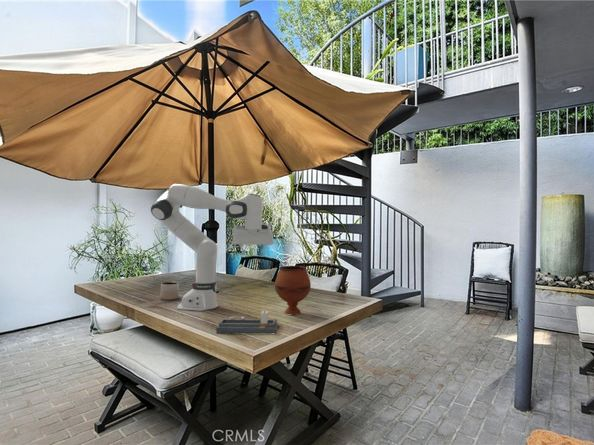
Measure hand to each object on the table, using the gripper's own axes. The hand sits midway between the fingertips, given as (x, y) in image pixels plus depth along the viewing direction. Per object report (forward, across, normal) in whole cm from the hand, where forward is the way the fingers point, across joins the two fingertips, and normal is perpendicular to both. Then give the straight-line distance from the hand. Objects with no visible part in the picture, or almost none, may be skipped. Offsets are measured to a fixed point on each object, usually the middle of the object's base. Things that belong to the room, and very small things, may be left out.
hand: (253, 253), depth 169 cm
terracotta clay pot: (+33, +20, +12) cm, 41 cm away
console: (+33, 0, -15) cm, 36 cm away
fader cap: (+30, +7, -15) cm, 35 cm away
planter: (+33, -58, +44) cm, 80 cm away
